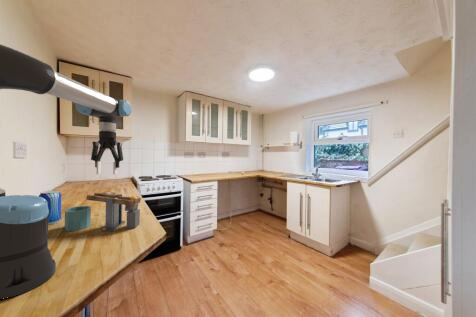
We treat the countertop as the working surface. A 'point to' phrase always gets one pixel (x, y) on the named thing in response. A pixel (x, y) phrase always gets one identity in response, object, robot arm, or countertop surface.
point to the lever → (115, 200)
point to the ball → (133, 198)
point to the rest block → (133, 218)
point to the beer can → (53, 205)
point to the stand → (113, 215)
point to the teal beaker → (77, 218)
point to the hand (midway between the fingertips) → (107, 173)
